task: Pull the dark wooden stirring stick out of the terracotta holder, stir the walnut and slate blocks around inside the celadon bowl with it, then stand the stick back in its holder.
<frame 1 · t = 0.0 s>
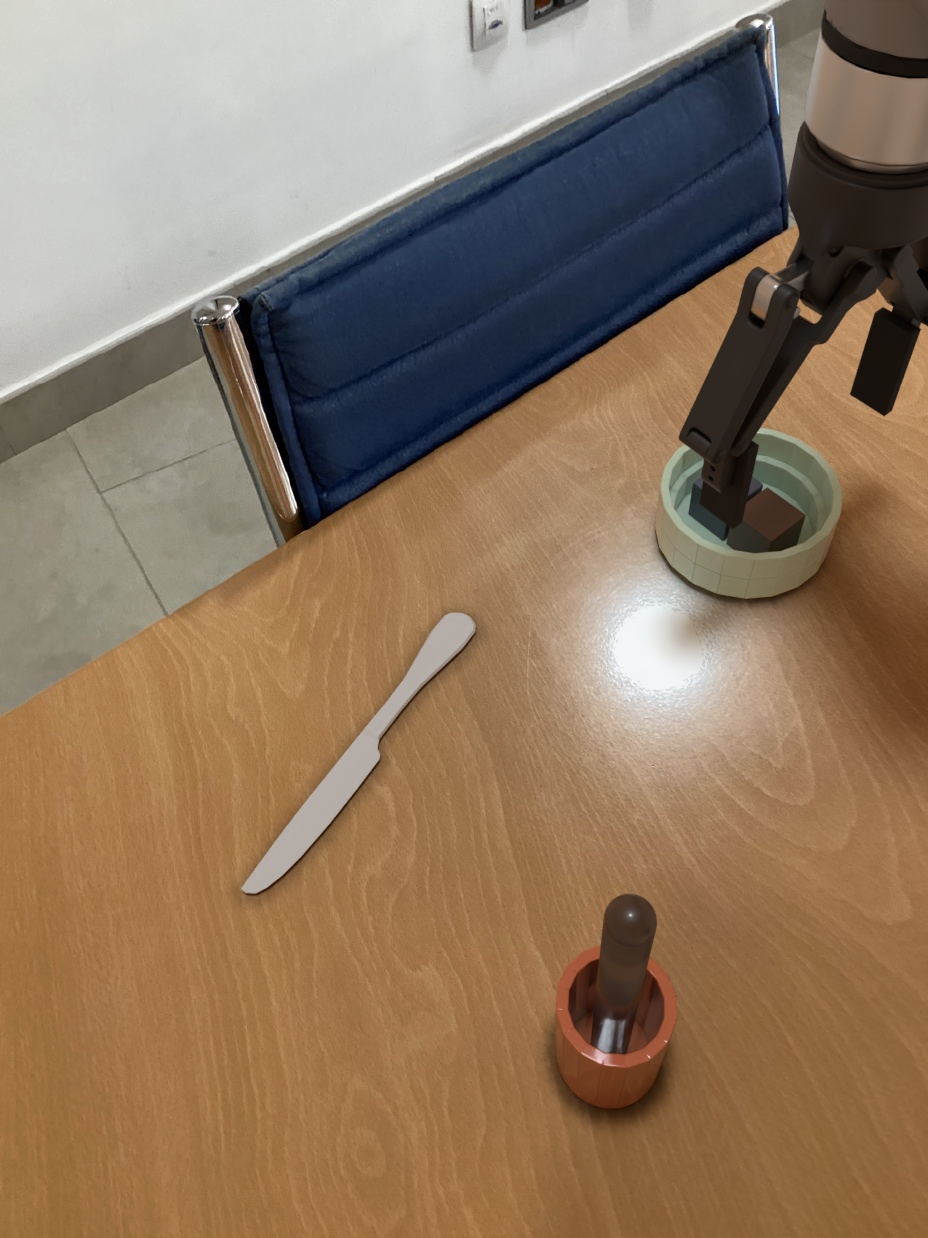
hand: (797, 456, 65), 12 cm above the table, tool pointing down, fingers open, 13 cm apart
block b: (721, 515, 78), point 1 cm above the table, touching bowl
holder: (607, 1053, 58), on the table
butter knife: (366, 747, 70), on the table
bowl: (740, 535, 77), on the table
stick: (608, 1050, 57), point 1 cm above the table, touching holder
block a: (761, 545, 76), point 1 cm above the table, touching bowl
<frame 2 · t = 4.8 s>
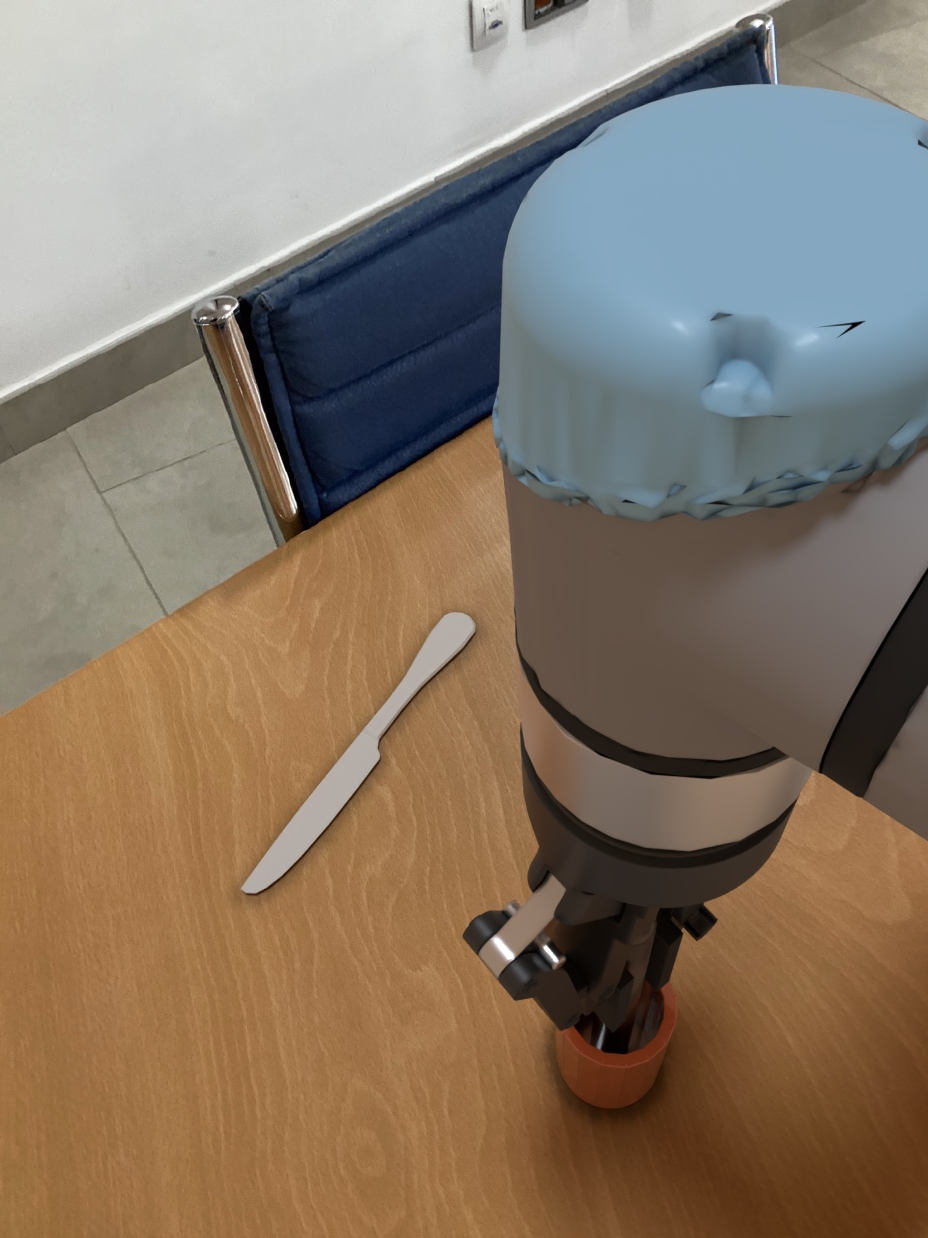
hand: (619, 982, 47), 13 cm above the table, tool pointing down, fingers closed on stick, 2 cm apart
stick: (608, 1050, 57), point 1 cm above the table, touching gripper, holder
everything else where it was.
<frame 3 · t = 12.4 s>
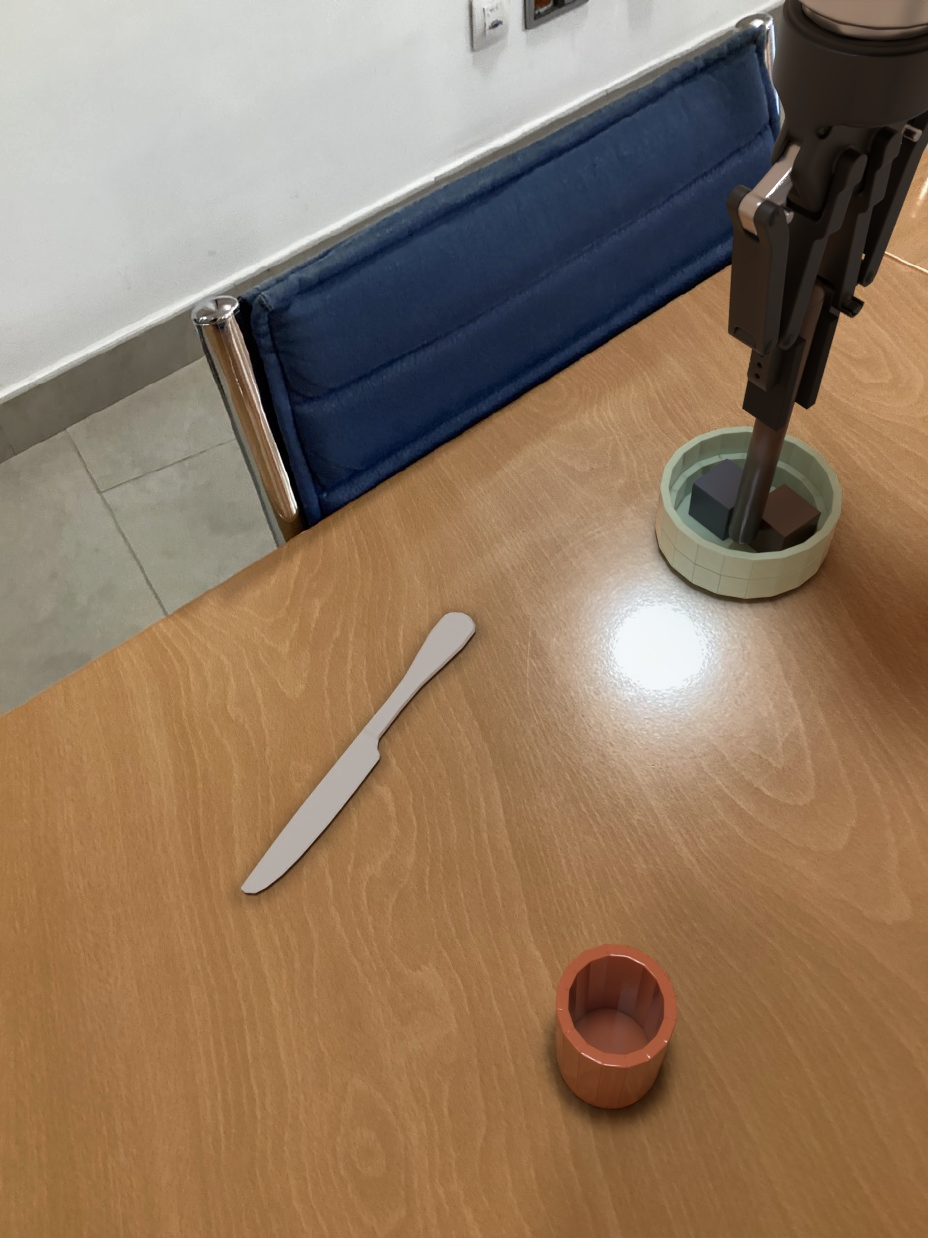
hand: (778, 405, 64), 15 cm above the table, tool pointing down, fingers closed on stick, 2 cm apart
stick: (740, 539, 75), point 2 cm above the table, touching block a, gripper
block a: (775, 541, 76), point 1 cm above the table, touching bowl, stick
everything else where it was.
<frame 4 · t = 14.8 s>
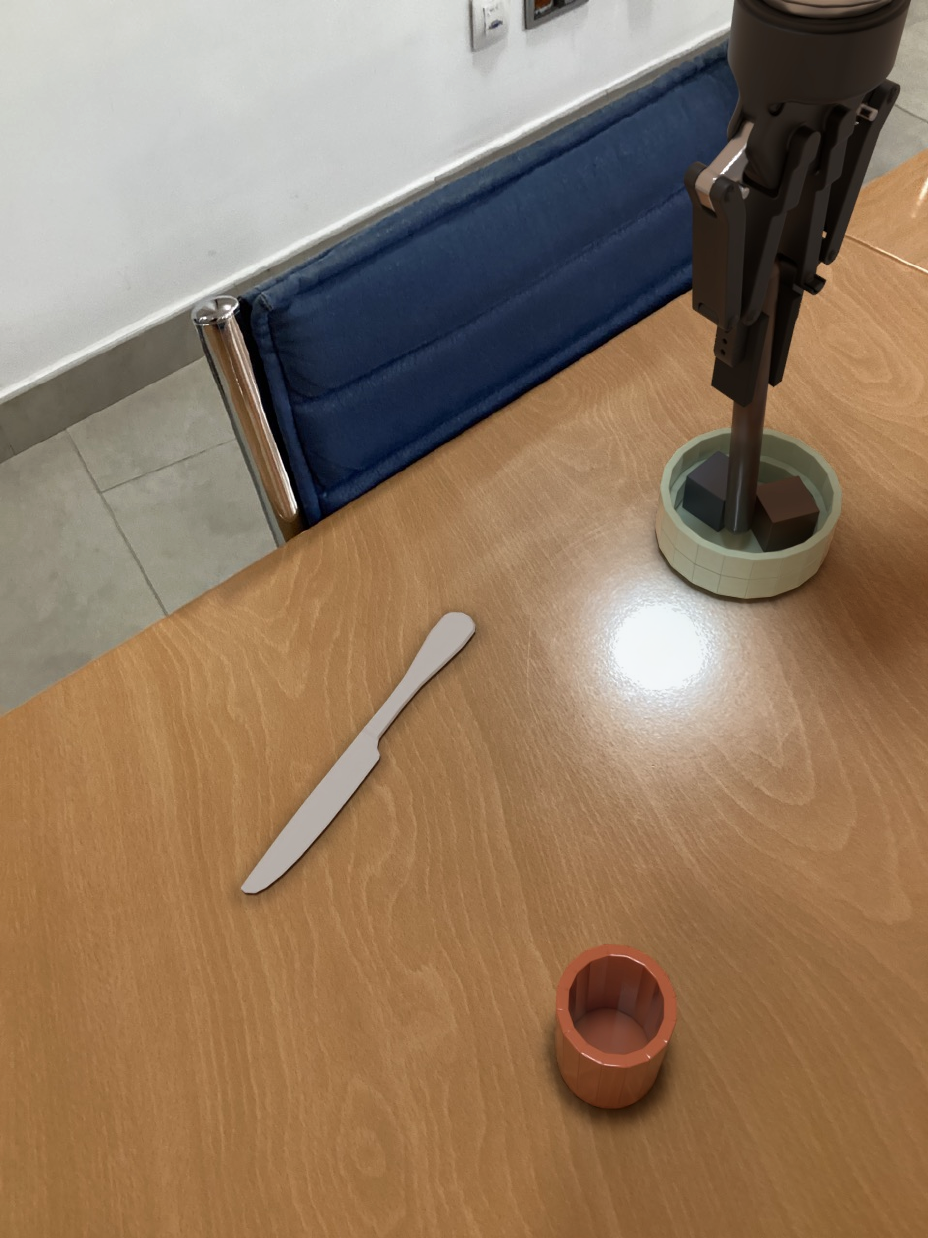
hand: (746, 382, 65), 15 cm above the table, tool pointing down, fingers closed on stick, 2 cm apart
stick: (737, 530, 75), point 2 cm above the table, tilted 6°, touching gripper
block a: (777, 530, 77), point 1 cm above the table, touching bowl
everything else where it was.
when the fingers open (16 cm above the table, at t = 23.0 s): stick drops 2 cm, resting on holder.
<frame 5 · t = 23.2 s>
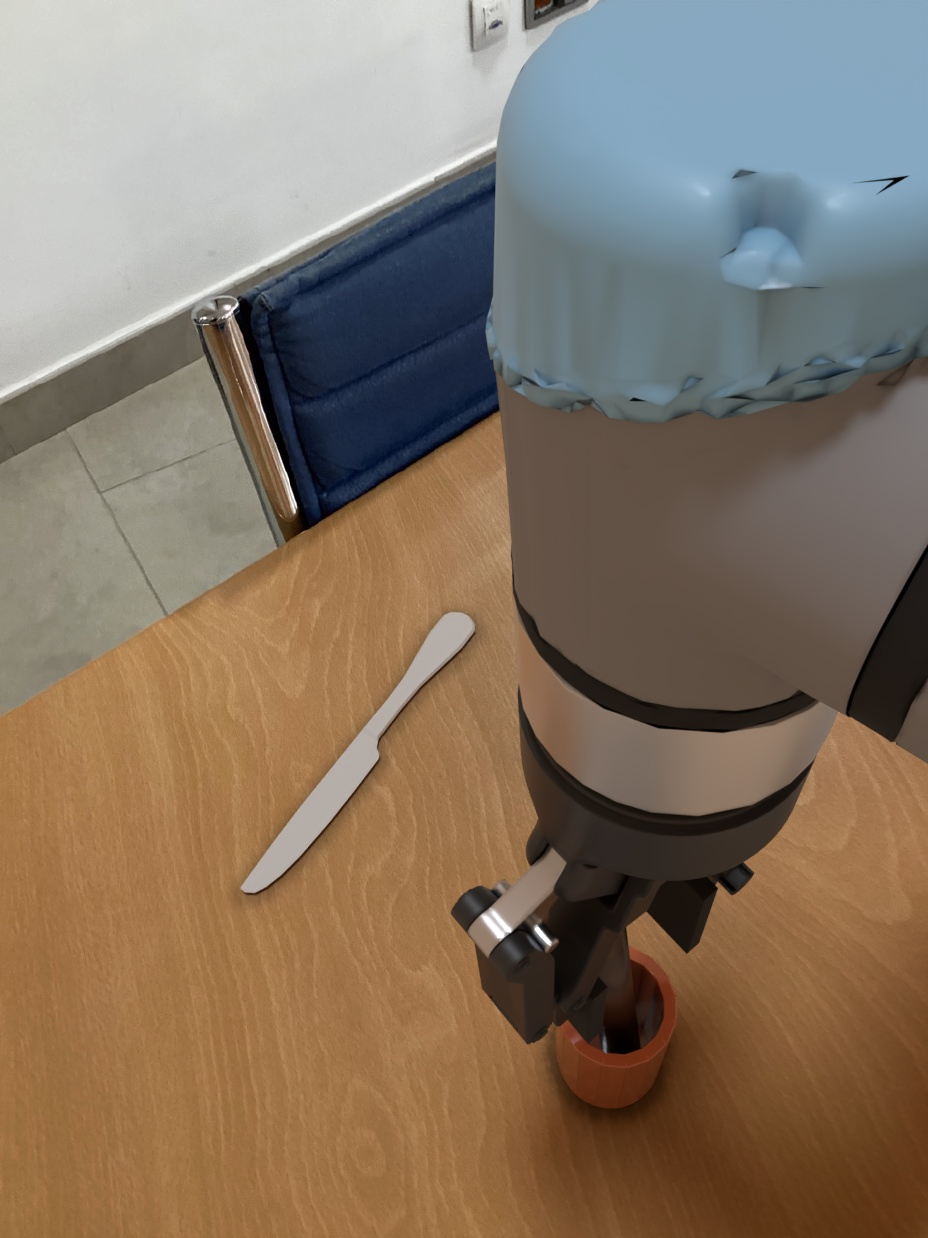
hand: (622, 967, 45), 16 cm above the table, tool pointing down, fingers open, 5 cm apart
stick: (624, 1069, 57), point 1 cm above the table, tilted 9°, touching holder
everything else where it was.
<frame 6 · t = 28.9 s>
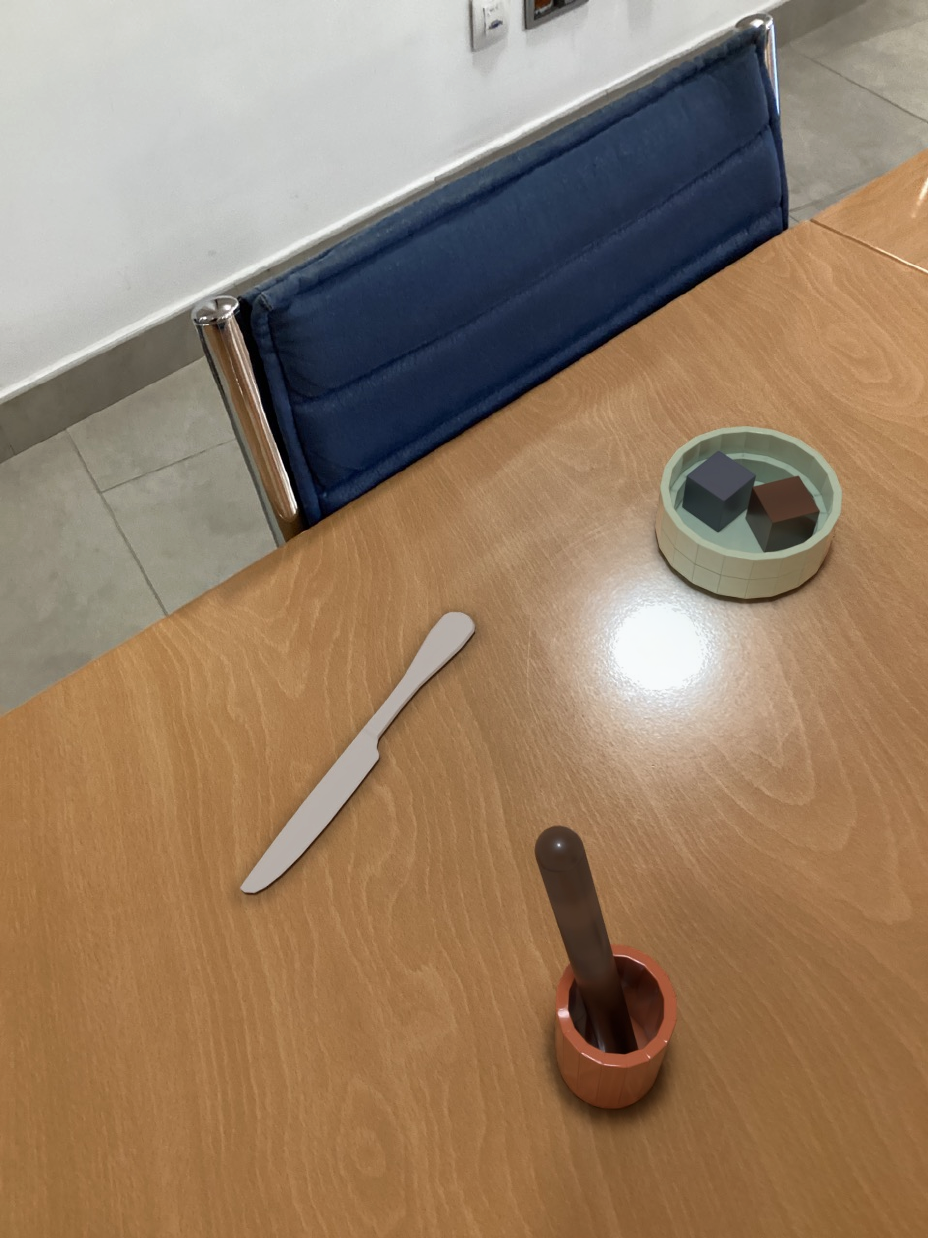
stick: (624, 1069, 57), point 1 cm above the table, tilted 15°, touching holder
everything else where it was.
at the end: block a moved 1.9 cm from its start; block a inside the target area in the bowl (2.5 cm from its centre), point 0.6 cm above the bowl's base; stick 1.3 cm off-centre in the holder, point 0.6 cm above the holder's base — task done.
